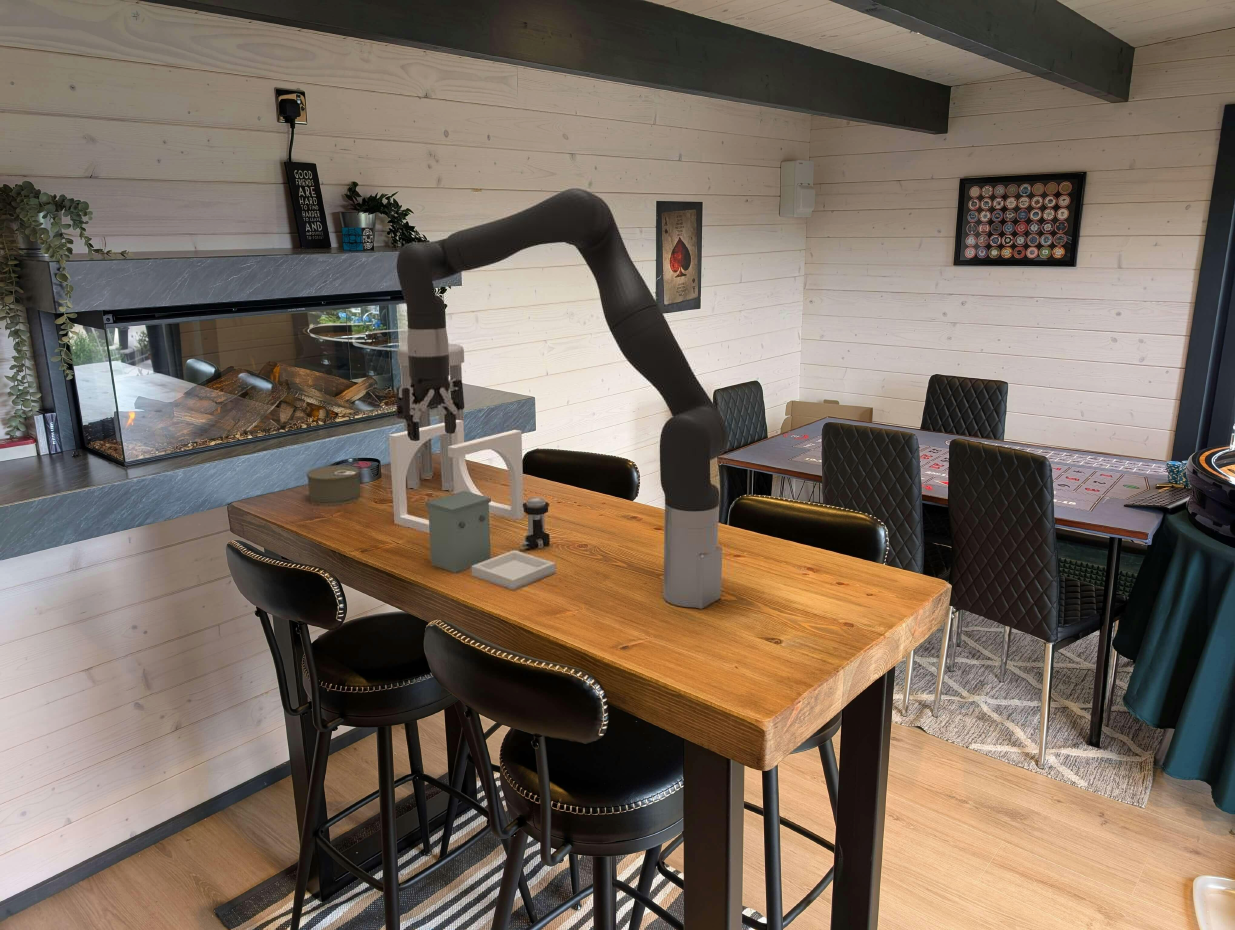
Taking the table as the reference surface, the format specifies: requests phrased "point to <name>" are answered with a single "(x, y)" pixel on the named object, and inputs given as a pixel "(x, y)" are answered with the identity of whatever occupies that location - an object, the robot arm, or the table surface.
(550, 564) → the tray
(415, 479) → the stool
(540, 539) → the push button
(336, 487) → the can
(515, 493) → the bookend
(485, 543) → the box
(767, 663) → the table surface
